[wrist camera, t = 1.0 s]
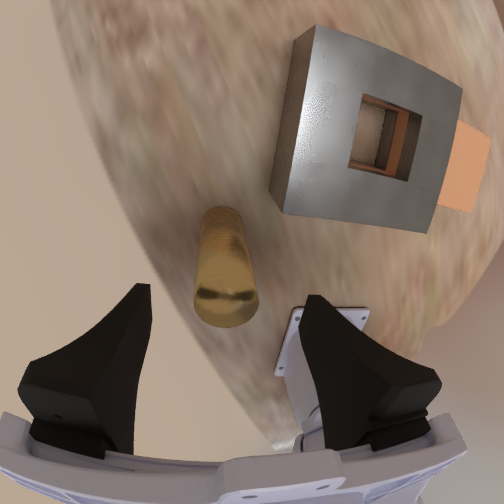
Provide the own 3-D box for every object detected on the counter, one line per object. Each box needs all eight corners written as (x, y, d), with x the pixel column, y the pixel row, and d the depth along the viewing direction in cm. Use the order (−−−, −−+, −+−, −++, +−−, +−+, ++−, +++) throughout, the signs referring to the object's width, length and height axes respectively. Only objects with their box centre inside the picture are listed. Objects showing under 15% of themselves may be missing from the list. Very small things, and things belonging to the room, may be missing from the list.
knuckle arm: (451, 201, 22) (471, 213, 20) (300, 167, 20) (312, 177, 17) (469, 132, 19) (491, 139, 17) (317, 72, 17) (333, 67, 14)
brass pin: (239, 245, 22) (253, 328, 14) (199, 242, 22) (192, 326, 14) (244, 208, 21) (263, 279, 13) (202, 204, 20) (195, 274, 12)
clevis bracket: (396, 210, 22) (426, 233, 18) (269, 190, 20) (282, 213, 16) (424, 85, 17) (462, 88, 13) (294, 39, 15) (316, 24, 11)
